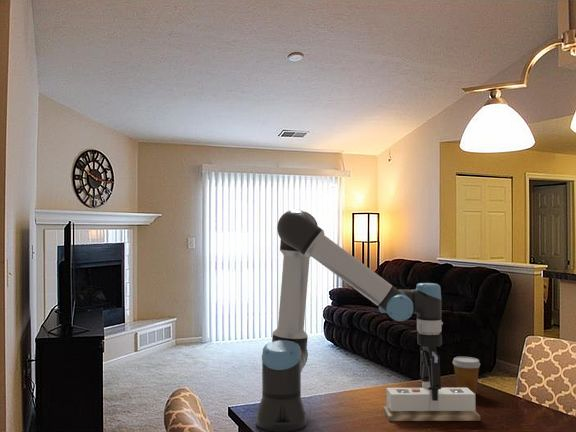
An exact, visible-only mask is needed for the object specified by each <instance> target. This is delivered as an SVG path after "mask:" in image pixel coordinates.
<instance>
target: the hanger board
mask: <svg viewBox="0 0 576 432" xmlns="http://www.w3.org/2000/svg"><path fill="white" fill-rule="evenodd" d="M382 412H383V413H384V415H385V417H386V418H387V421H389V422H391V421H392V422H403V421H404V422H406V421H407V422H409V421H411V422H413V421H414V422H427V421H429V422H430V421H431V422H432V421H433V422H435V421H437V422H439V421H440V422H441V421H443V422H445V421H446V422H448V421H458V422H459V421H462V422H463V421H467V422H468V421H470V422H471V421H472V422H473V421H477V422H478V421H481V415H480V414H479V413H478V412H477V410H476V411H459V412H457V411H406V412H402V411H391V410H390V408H389V407H388V405H382Z"/></svg>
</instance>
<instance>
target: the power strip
mask: <svg viewBox="0 0 576 432" xmlns="http://www.w3.org/2000/svg"><path fill="white" fill-rule="evenodd" d="M385 391H386V393H385V395H386V399H385V400H386V401H385V402H386V406H388V407H389V408H390V410H391V411H430V410H429V390H428V388H422V387H386V390H385ZM402 391H404V392H405V393H401V392H402ZM455 391H458V392H459V393H454V392H455ZM476 409H477V408H476V395H475V394H474V393H473V392H472V391H471V390H469V389H468V388H457V387H441V389H439V411H476V412H477V410H476Z"/></svg>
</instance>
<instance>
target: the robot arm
mask: <svg viewBox="0 0 576 432" xmlns="http://www.w3.org/2000/svg"><path fill="white" fill-rule="evenodd" d="M276 226H277V227H276V229H277V235H278V237H279V238H280V244H279V245H280V246H279V251H280V252H281V254H283V260H282V261H283V263H282V274H281V287H280V297H279V298H280V299H279V310H278V322H277V328H276V329H275V330H274V331H272V336H271V337H272V339H271V341H270V342H268V343H266V344H265V345H264V346H263V348H262V353H261V364H262V367H261V368H262V371H261V375H262V376H261V378H262V382H261V387H262V389H261V390H262V392H261V394H262V395H261V400H260V404H259V407H258V411H257V413H256V421H255V422H256V426H257V427H259V428H260V429H262V430H264V431H268V432H269V431H270V432H292V431H298V430H300V429H302V428H305V426H306V425H307V422H308V421H307V413H306V411H305V407H304V403H303V400H302V396H301V395H302V394H301V392H302V391H301V389H302V383H301V382H302V381H301V380H302V379H301V378H302V377H301V376H302V375H301V374H302V371H303V369H304V367H305V366H306V363H307V361H308V356H309V354H308V339H309V335H308V334H307V333H306V331H305V321H306V320H305V319H306V307H307V292H308V281H309V268H310V260H311V259H310V258H313V259H314V260H316V261H317V262H318V263H320V264H321V265H323V266H324V267H325V268H326V269H328V271H330V272H332V273H333V274H334V275H335V276H337V277H338V278H340V279H341V280H343V281H344V282H345V283H346V284H348V285H349V286H350V287H352V289H354V290H355V291H357V292H359V293H360V294H361V295H362V296H363V297H365V298H366V299H368V301H369V300H370V301H371V302H372V303H373V304H375V305H376V306H377V307H378V311H379V312H380V313H381V314H383V313H385V314H387V315H388V316H389V317H390V318H391V319H392V320H394V321H396V322H406V321H407V320H408V319H410V318H411V317H412V315H413V314H416V331H417V334H416V335H417V337H416V339H417V340H416V341H417V345H419V346H420V348H419V351H420V356H419V357H420V360H419V361H420V364H419V365H420V367H419V369H420V370H419V377H420V378H421V381H422V382H421V383H422V384H421V385H422V387H421V388H428V390H429V410H430V411H439V389H441V388H442V383H441V382H442V381H441V355H439V354H438V352H437V347H441V346H442V345H443V335H442V326H443V324H444V322H443V321H442V290H441V285H439V284H438V283H433V282H420V283H417V284H416V287H415V289H398V288H397V287H395V286H393V284H391V283H389V282H388V281H387V280H385V279H384V278H383V277H382V276H380V275H379V274H378V273H376V272H375V271H374V270H372V269H371V268H370V267H368V266H367V265H365V264H364V263H363V262H361V261H360V260H359V259H358V258H356V257H354V256H353V255H352V254H351V253H349V252H347V250H346V249H344V248H342V247H341V246H340V245H339V244H337V243H336V242H334V241H333V240H332V239H330V238H329V237H328V236H326V235H325V230H324V229H323V228H321V227H320V226H318V222H317V220H316V218H315V217H314V216H313V215H312V214H311V213H309V212H307V211H304V210H301V209H291V210H288V211H286V212H285V213H283V214H282V215H281V216H280V218H279V219H278V221H277V225H276Z"/></svg>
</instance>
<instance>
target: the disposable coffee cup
mask: <svg viewBox="0 0 576 432" xmlns="http://www.w3.org/2000/svg"><path fill="white" fill-rule="evenodd" d="M452 365H453V369H454V374H455V376H454V377H455V382H456V388H468V389H469V390H471V391H472V392H473V393H474V394H475V396H476V394H477V391H478V390H477V389H478V380H479V372H480V371H479V370H480V366H481V363H480V359H478V358H476V357H471V356H456V357H454V358H453V360H452Z"/></svg>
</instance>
